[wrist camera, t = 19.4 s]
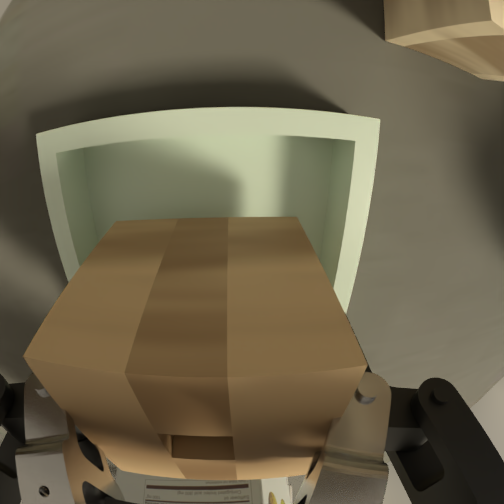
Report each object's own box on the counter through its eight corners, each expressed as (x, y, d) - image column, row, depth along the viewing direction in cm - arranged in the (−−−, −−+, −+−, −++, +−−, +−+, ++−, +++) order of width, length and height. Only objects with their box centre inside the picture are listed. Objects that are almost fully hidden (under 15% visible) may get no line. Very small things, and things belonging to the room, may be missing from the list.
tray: (71, 124, 9) (35, 134, 7) (349, 114, 10) (380, 119, 8) (127, 357, 15) (117, 391, 13) (312, 355, 16) (322, 390, 14)
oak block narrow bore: (115, 221, 9) (23, 356, 4) (296, 216, 9) (367, 364, 4) (147, 346, 12) (121, 470, 7) (282, 346, 12) (306, 474, 7)
